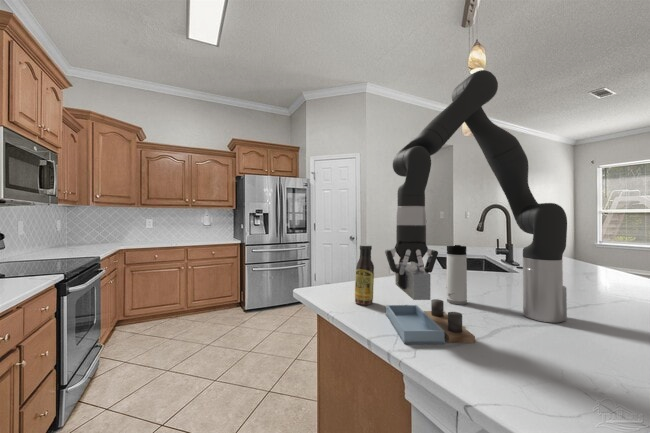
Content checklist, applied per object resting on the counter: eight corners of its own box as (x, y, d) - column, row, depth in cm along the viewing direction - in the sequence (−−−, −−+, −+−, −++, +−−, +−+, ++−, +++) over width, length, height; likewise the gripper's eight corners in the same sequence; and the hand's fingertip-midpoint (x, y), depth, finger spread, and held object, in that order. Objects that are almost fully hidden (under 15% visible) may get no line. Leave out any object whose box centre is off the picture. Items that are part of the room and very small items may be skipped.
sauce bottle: (352, 304, 95) (351, 245, 96) (358, 299, 101) (358, 243, 101) (370, 307, 92) (370, 246, 92) (376, 302, 98) (376, 244, 98)
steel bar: (409, 284, 83) (409, 263, 83) (430, 299, 67) (430, 274, 67) (395, 284, 83) (395, 263, 83) (413, 299, 67) (413, 274, 67)
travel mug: (448, 304, 95) (447, 244, 95) (445, 299, 101) (445, 243, 102) (468, 306, 93) (468, 245, 94) (465, 300, 100) (464, 243, 100)
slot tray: (417, 315, 84) (416, 305, 84) (444, 344, 65) (444, 331, 65) (386, 315, 84) (386, 305, 84) (404, 344, 65) (404, 330, 65)
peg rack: (443, 316, 83) (442, 297, 83) (474, 342, 65) (474, 318, 65) (422, 316, 83) (422, 297, 84) (449, 342, 65) (448, 318, 66)
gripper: (432, 223, 79) (432, 285, 78) (381, 223, 79) (381, 285, 79) (443, 224, 71) (443, 292, 71) (387, 223, 71) (387, 292, 71)
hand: (411, 288), depth 75 cm, fingers closed on steel bar, 4 cm apart
